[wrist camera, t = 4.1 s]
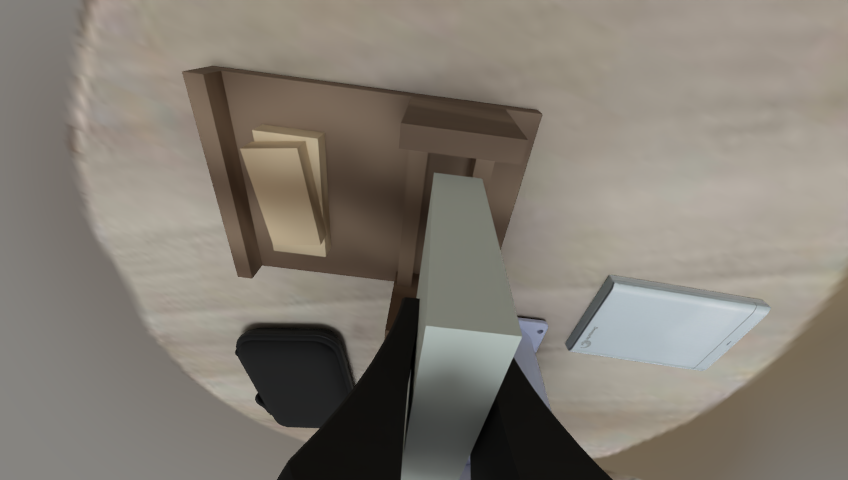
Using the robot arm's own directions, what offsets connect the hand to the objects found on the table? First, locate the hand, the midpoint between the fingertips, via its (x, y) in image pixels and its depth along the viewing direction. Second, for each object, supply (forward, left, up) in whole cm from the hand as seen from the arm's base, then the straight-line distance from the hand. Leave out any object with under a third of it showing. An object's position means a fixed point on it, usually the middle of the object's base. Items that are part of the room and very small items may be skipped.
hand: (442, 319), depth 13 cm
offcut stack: (0, +9, -9) cm, 13 cm away
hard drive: (-9, -19, -11) cm, 24 cm away
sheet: (0, 0, -4) cm, 4 cm away
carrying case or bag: (-21, +11, -11) cm, 27 cm away
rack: (0, +5, -10) cm, 11 cm away
